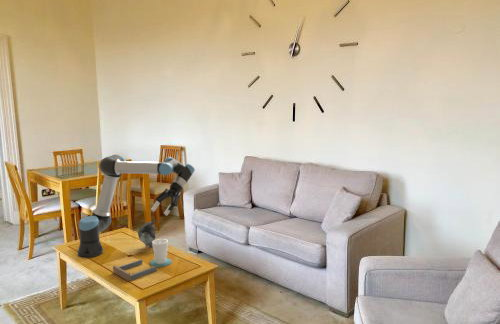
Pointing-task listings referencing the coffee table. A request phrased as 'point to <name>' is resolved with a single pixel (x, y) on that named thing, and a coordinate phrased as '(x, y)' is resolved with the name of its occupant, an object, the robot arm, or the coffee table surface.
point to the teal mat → (168, 262)
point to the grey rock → (147, 234)
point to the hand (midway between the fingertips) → (158, 212)
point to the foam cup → (160, 250)
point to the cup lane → (126, 275)
